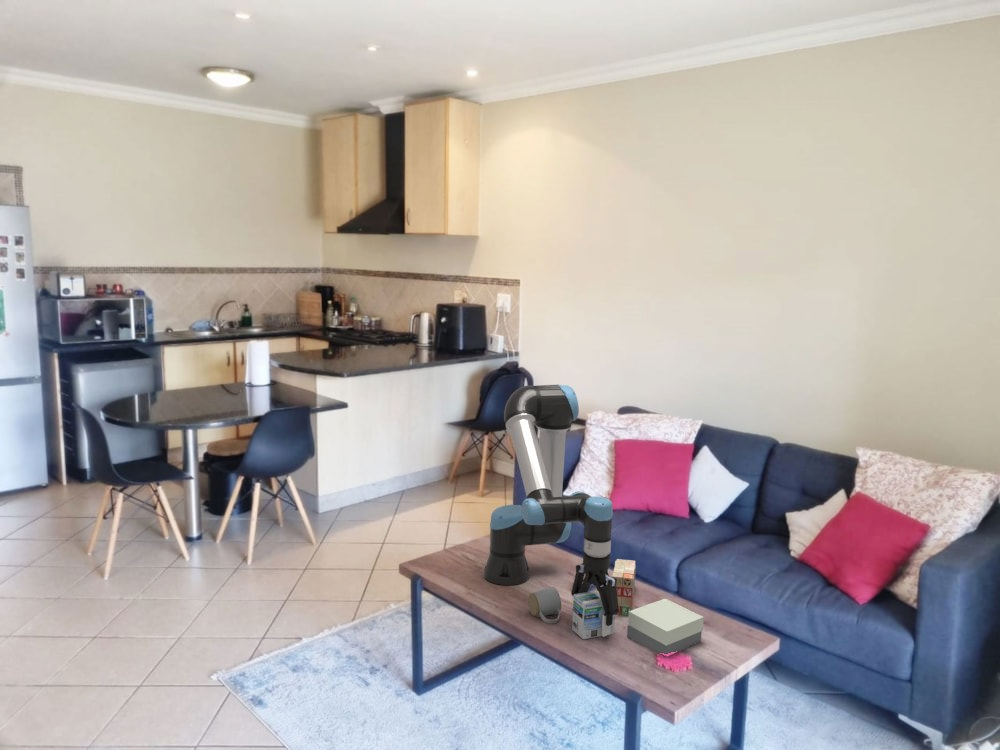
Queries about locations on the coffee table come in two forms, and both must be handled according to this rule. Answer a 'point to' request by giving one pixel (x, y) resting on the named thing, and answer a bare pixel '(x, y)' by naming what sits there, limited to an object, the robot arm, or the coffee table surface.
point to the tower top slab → (665, 621)
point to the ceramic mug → (545, 604)
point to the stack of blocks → (624, 584)
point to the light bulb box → (589, 615)
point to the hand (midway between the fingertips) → (593, 628)
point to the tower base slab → (660, 647)
